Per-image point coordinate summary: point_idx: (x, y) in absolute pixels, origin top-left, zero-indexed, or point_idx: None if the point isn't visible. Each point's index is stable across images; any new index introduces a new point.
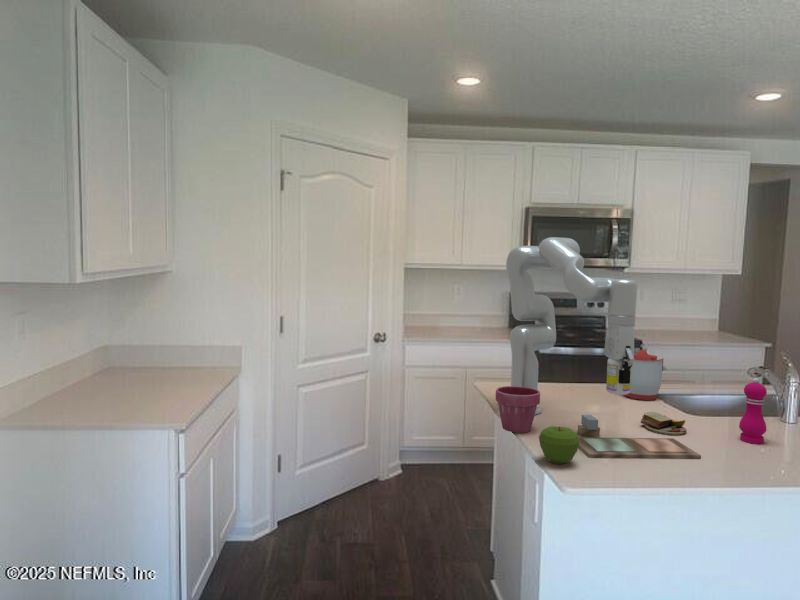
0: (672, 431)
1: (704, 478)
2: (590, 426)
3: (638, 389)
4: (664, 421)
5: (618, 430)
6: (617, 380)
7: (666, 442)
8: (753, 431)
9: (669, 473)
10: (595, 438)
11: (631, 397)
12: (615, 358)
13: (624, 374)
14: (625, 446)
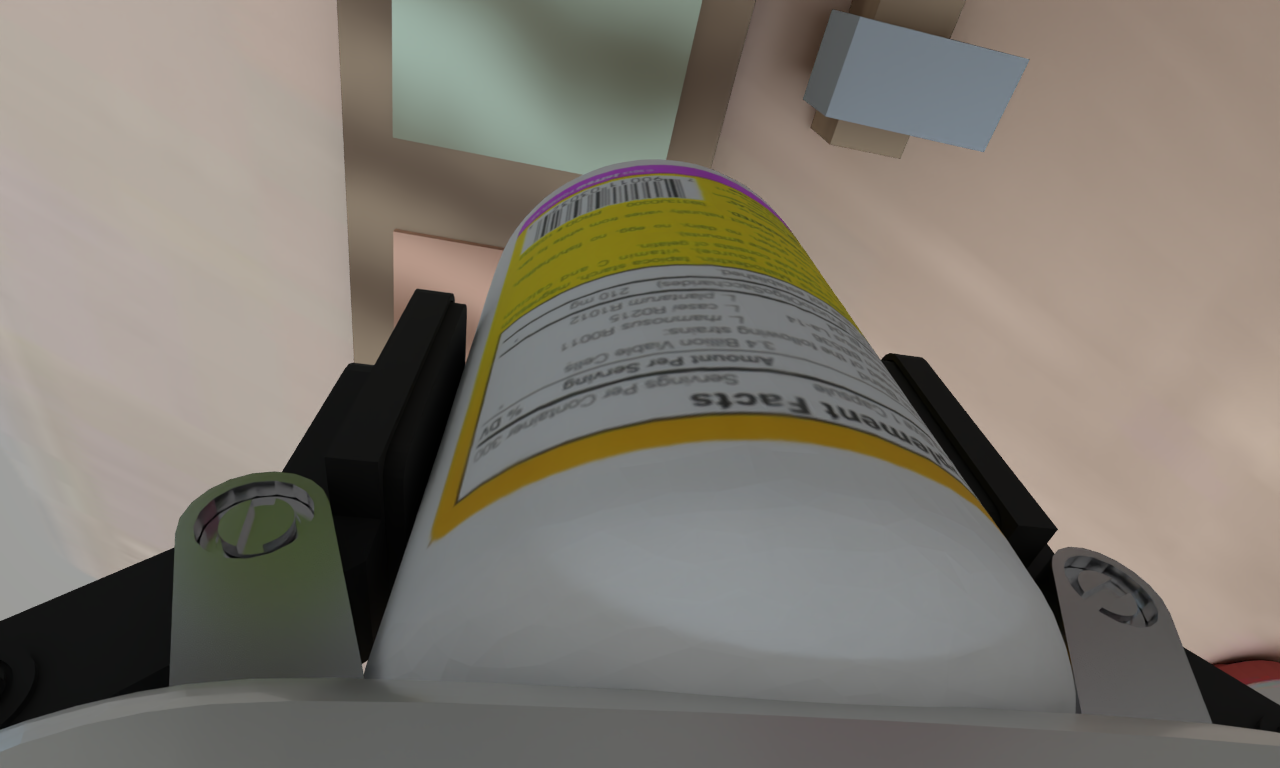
0: None
1: (39, 288)
2: (834, 33)
3: None
4: None
5: (874, 333)
6: (495, 312)
7: None
8: None
9: (71, 139)
10: (728, 18)
11: (1234, 665)
12: (185, 752)
13: (300, 456)
14: (496, 131)
